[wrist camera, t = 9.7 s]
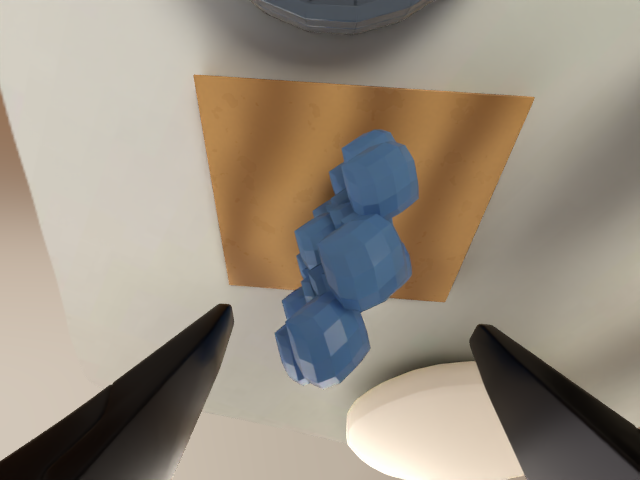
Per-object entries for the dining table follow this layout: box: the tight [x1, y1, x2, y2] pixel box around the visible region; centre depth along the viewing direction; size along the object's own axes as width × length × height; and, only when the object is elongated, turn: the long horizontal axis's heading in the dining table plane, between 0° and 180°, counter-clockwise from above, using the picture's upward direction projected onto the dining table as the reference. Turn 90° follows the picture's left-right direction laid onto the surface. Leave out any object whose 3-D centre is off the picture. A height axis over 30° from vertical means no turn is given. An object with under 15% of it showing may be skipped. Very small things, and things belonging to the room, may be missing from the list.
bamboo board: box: [193, 75, 535, 302], centre depth 18 cm, size 20×16×1 cm
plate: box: [346, 361, 524, 480], centre depth 28 cm, size 28×6×27 cm
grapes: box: [275, 129, 419, 390], centre depth 12 cm, size 12×7×12 cm, turn 158°
